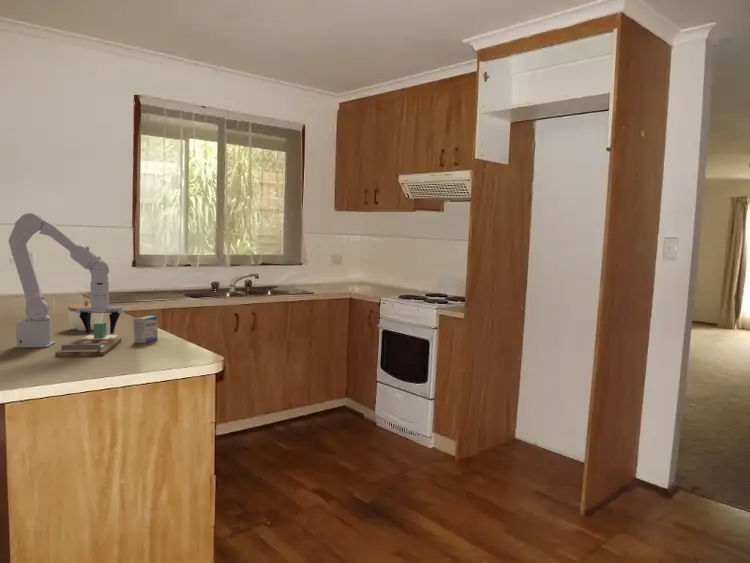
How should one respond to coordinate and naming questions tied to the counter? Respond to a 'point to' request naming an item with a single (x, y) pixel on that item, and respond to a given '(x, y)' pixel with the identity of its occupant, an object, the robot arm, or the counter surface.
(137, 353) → the counter surface
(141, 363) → the counter surface
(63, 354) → the board
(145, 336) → the medicine box
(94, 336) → the cream plaque with block
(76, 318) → the lidded bowl
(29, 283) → the robot arm
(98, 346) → the grey flat block
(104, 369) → the counter surface
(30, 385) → the counter surface
